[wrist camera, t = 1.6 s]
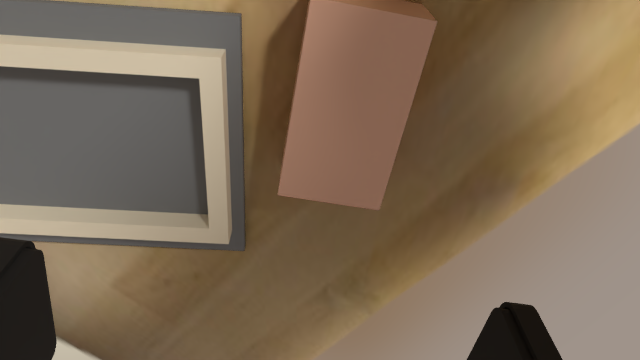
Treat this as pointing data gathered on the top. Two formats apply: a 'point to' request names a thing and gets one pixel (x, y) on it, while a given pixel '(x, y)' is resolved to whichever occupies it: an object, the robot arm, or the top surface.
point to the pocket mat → (121, 125)
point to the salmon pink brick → (353, 98)
